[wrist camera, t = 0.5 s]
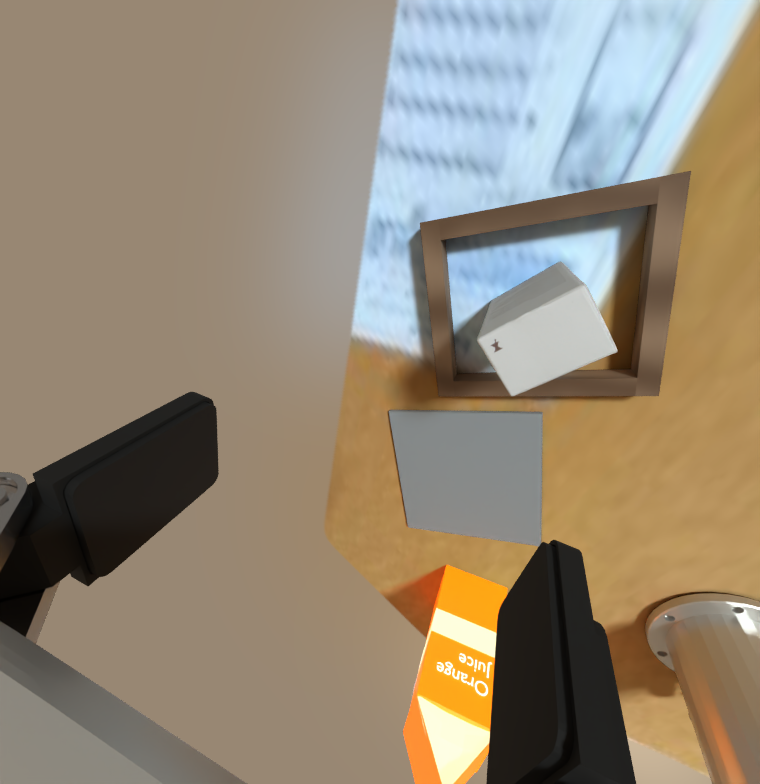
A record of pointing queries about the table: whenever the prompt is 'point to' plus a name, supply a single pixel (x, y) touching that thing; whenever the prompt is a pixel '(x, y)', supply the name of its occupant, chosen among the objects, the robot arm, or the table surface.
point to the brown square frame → (657, 193)
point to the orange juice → (455, 682)
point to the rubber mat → (471, 472)
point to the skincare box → (543, 330)
